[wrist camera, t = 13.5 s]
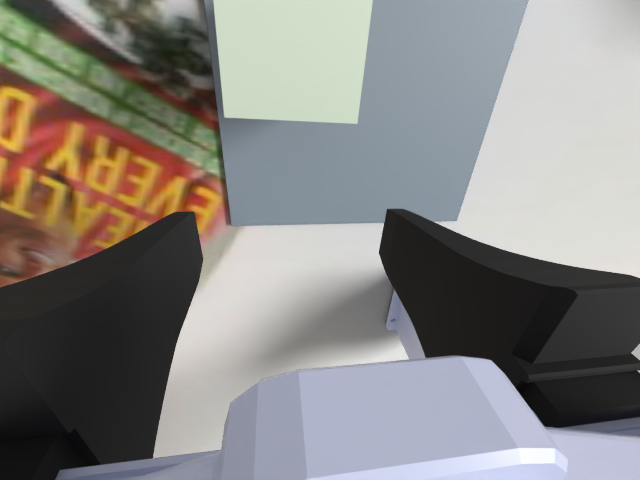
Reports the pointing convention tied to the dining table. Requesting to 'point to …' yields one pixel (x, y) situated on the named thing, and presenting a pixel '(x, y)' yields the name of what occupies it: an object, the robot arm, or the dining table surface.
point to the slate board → (380, 122)
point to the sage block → (292, 58)
